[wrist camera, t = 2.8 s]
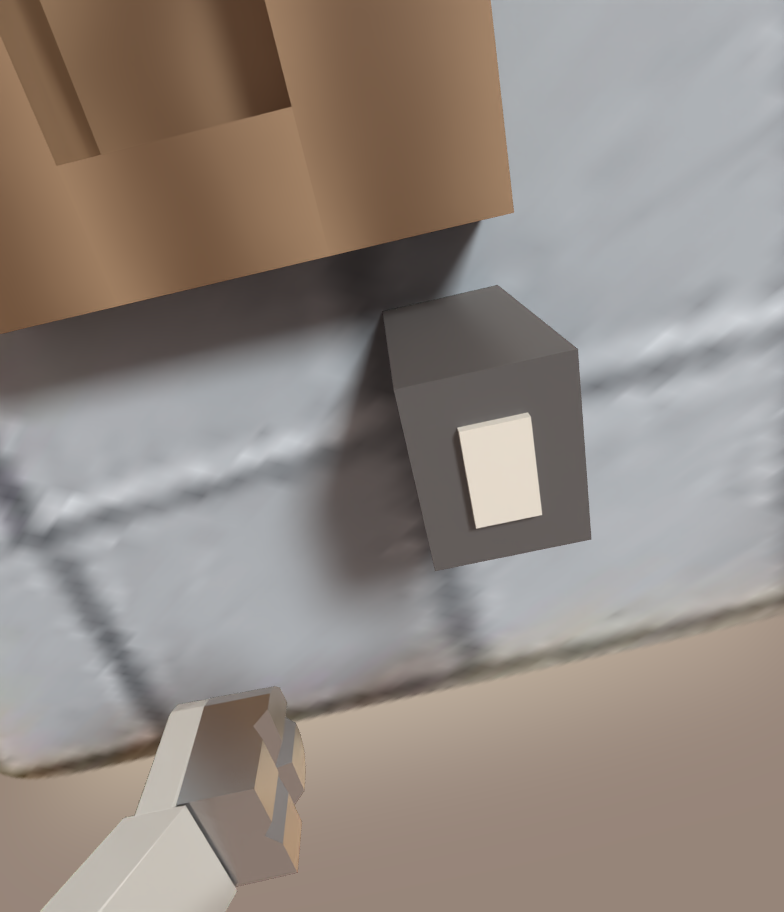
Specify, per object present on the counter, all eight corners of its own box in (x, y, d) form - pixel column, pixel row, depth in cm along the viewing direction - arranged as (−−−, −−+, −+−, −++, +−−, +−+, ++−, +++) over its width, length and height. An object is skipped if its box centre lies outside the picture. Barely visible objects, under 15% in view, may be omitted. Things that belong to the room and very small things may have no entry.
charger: (497, 284, 19) (581, 352, 12) (514, 418, 21) (594, 545, 14) (382, 311, 19) (394, 393, 12) (411, 440, 22) (436, 577, 14)
